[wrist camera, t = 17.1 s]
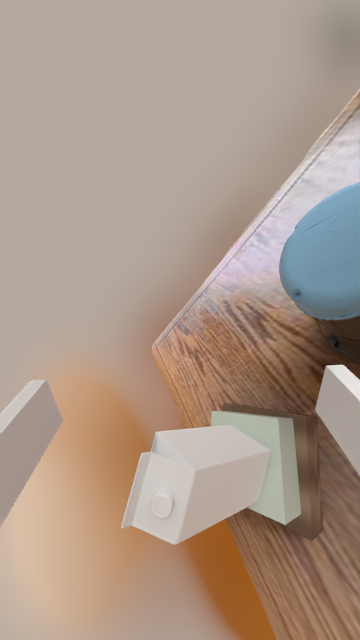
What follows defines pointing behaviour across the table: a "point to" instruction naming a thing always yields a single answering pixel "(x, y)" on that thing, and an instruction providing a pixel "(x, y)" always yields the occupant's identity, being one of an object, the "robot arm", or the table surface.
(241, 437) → the milk carton
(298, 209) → the table surface
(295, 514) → the tower top
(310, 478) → the tower base
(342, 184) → the table surface
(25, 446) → the robot arm
